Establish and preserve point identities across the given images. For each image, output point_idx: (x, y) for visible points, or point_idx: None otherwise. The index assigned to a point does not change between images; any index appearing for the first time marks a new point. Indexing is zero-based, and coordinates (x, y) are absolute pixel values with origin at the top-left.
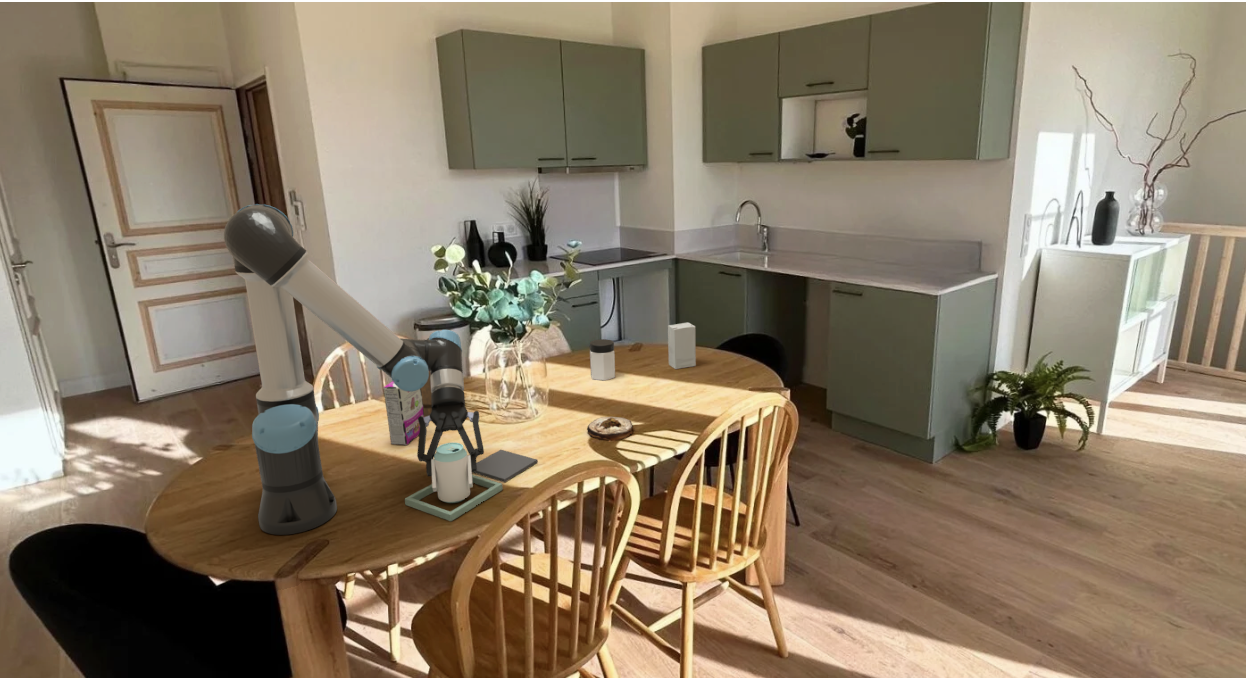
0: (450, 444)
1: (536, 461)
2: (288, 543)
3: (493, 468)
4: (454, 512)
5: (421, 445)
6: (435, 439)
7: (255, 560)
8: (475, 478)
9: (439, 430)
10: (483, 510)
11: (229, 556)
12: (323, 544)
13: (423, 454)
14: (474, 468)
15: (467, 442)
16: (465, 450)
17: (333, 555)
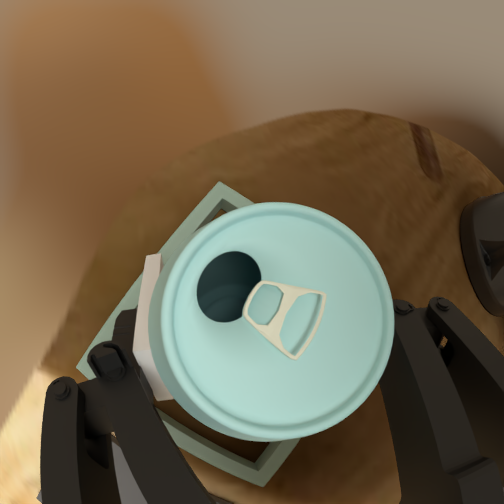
0: (308, 417)
1: (39, 495)
2: (460, 183)
3: (141, 496)
4: (209, 192)
5: (475, 342)
6: (440, 408)
7: (460, 156)
8: (179, 430)
9: (460, 472)
10: (131, 241)
11: (482, 174)
12: (425, 166)
13: (431, 325)
14: (127, 310)
15: (149, 446)
16: (160, 364)
17: (394, 134)
